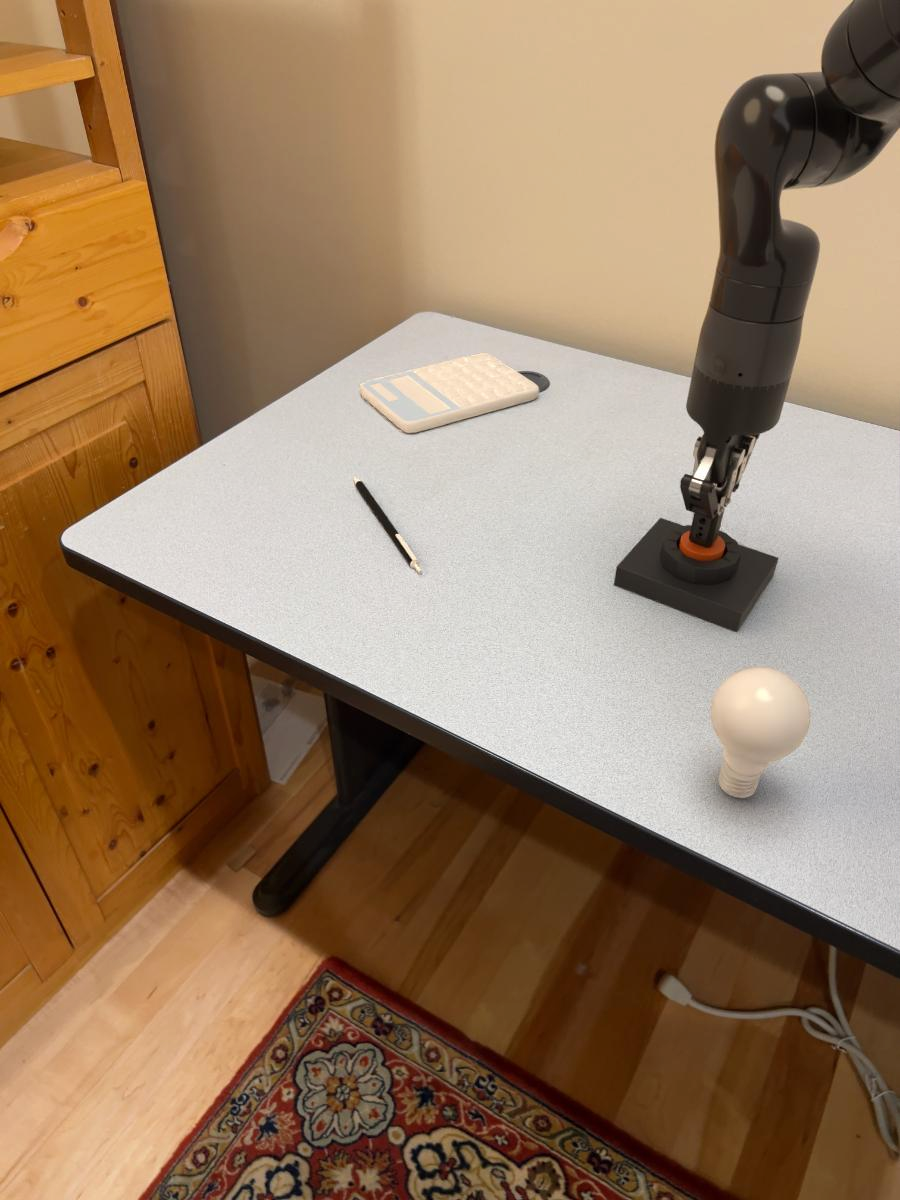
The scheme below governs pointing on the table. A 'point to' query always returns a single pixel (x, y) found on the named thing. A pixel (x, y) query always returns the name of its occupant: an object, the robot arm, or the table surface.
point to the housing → (696, 576)
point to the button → (701, 549)
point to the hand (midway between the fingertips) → (702, 541)
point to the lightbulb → (757, 724)
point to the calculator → (448, 392)
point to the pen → (388, 526)
